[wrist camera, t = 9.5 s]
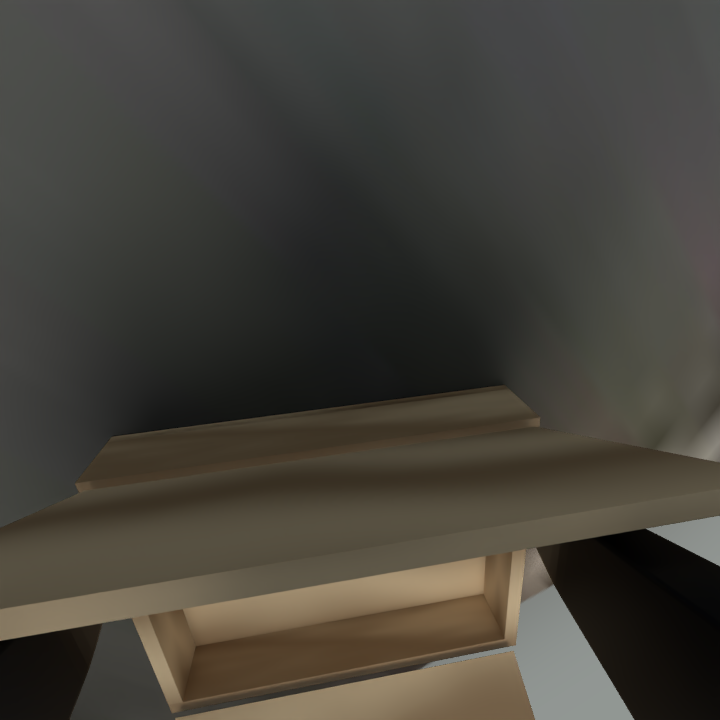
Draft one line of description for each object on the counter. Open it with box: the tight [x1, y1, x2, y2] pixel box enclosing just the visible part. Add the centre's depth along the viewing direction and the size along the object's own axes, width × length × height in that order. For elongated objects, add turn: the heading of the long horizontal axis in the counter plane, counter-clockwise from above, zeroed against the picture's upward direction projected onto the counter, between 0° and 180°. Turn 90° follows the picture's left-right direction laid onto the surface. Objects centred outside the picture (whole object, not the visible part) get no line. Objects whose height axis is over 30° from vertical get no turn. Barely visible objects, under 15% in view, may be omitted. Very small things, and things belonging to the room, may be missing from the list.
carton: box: [75, 385, 540, 713], centre depth 18 cm, size 13×16×3 cm
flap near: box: [0, 426, 720, 641], centre depth 10 cm, size 8×15×1 cm
